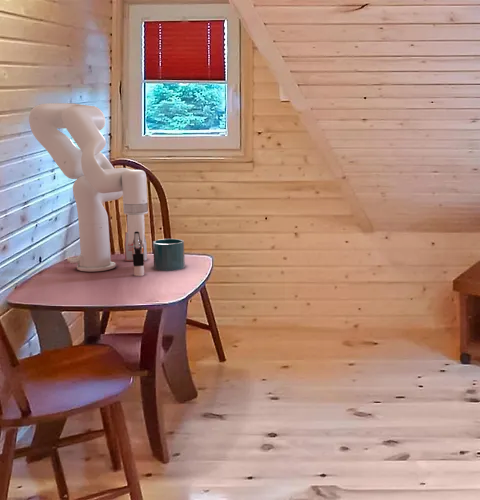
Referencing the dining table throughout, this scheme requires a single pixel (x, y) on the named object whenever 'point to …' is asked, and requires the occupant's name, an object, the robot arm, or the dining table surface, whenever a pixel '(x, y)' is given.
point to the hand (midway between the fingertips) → (138, 264)
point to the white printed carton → (129, 249)
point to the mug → (168, 254)
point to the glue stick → (138, 268)
